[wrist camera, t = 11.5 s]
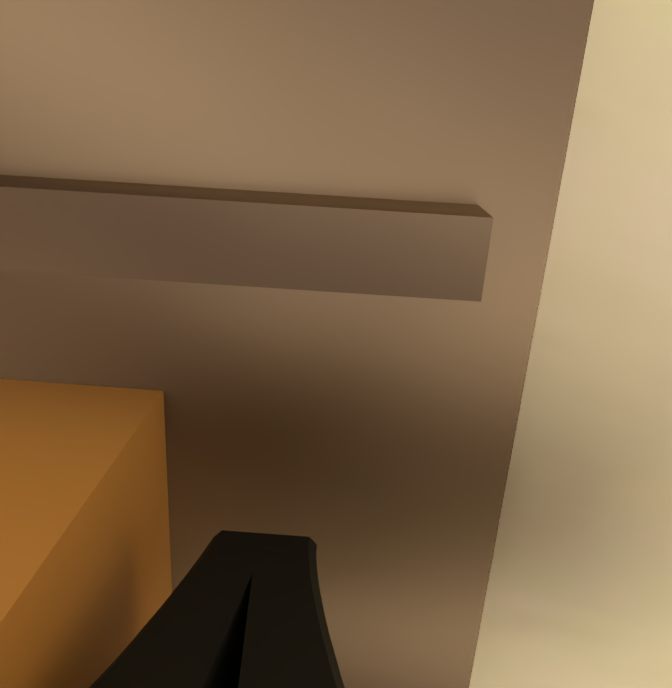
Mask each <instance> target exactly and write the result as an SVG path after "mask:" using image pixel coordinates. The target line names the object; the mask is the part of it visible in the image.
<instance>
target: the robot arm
mask: <svg viewBox="0 0 672 688" xmlns="http://www.w3.org/2000/svg"><path fill="white" fill-rule="evenodd" d="M316 551H317V544H316V543H315V542H314V541H313V540H312V539H311V538H310V537H307V536H293V535H280V534H266V533H252V532H239V531H225V530H222V531H221V532H219V533H218V534H217V535H215V536H214V537H213V539H212V540H211V541H210V543H209V544H208V546H207V547H206V549H205V550H204V551H203V553H202V554H201V556H200V557H199V558H198V560H197V561H196V562H195V564H194V565H193V566H192V568H191V569H190V570H189V572H188V573H187V574H186V576H185V577H184V578H183V580H182V581H181V582H180V583H179V585H178V586H177V587H176V588H175V590H174V591H173V592H172V593H171V595H170V596H169V597H168V599H167V600H166V601H165V602H164V603H163V605H162V606H161V607H160V608H159V609H158V611H157V612H156V613H155V614H154V615H153V617H152V618H151V619H150V620H149V621H148V622H147V624H146V625H145V626H144V627H143V628H142V629H141V631H140V632H139V633H138V634H137V635H136V637H135V638H134V639H133V640H132V641H131V642H130V644H129V645H128V646H127V647H126V648H125V649H124V651H123V652H122V653H121V654H120V655H119V656H118V657H117V658H116V660H115V661H114V662H113V663H112V664H111V665H110V666H109V667H108V668H107V669H106V670H105V671H104V672H103V673H102V674H101V676H100V677H99V678H98V679H97V680H96V681H95V682H94V683H93V684H92V685H91V686H90V687H89V688H345V687H344V684H343V681H342V677H341V674H340V670H339V667H338V663H337V660H336V656H335V652H334V649H333V645H332V642H331V638H330V635H329V631H328V626H327V622H326V618H325V614H324V609H323V603H322V598H321V593H320V587H319V581H318V573H317V560H316Z"/></svg>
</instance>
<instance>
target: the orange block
mask: <svg viewBox="0 0 672 688" xmlns="http://www.w3.org/2000/svg"><path fill="white" fill-rule="evenodd" d="M171 593H172V577H171V554H170V531H169V508H168V484H167V461H166V438H165V415H164V392H163V391H160V390H147V389H133V388H119V387H106V386H92V385H79V384H65V383H51V382H38V381H24V380H11V379H0V688H89V687H90V686H91V685H92V684H93V683H94V682H95V681H96V680H97V679H98V678H99V677H100V676H101V674H102V673H103V672H104V671H105V670H106V669H107V668H108V667H109V666H110V665H111V664H112V663H113V662H114V661H115V660H116V658H117V657H118V656H119V655H120V654H121V653H122V652H123V651H124V649H125V648H126V647H127V646H128V645H129V644H130V642H131V641H132V640H133V639H134V638H135V637H136V635H137V634H138V633H139V632H140V631H141V629H142V628H143V627H144V626H145V625H146V624H147V622H148V621H149V620H150V619H151V618H152V617H153V615H154V614H155V613H156V612H157V611H158V609H159V608H160V607H161V606H162V605H163V603H164V602H165V601H166V600H167V599H168V597H169V596H170V595H171Z"/></svg>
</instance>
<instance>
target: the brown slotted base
mask: <svg viewBox="0 0 672 688" xmlns="http://www.w3.org/2000/svg"><path fill="white" fill-rule="evenodd" d="M593 3H594V0H0V379H11V380H24V381H38V382H51V383H65V384H79V385H92V386H106V387H119V388H133V389H147V390H160V391H163V392H164V415H165V438H166V461H167V484H168V508H169V531H170V554H171V577H172V592H173V591H174V590H175V588H176V587H177V586H178V585H179V583H180V582H181V581H182V580H183V578H184V577H185V576H186V574H187V573H188V572H189V570H190V569H191V568H192V566H193V565H194V564H195V562H196V561H197V560H198V558H199V557H200V556H201V554H202V553H203V551H204V550H205V549H206V547H207V546H208V544H209V543H210V541H211V540H212V539H213V537H214V536H215V535H217V534H218V533H219V532H221V531H222V530H225V531H239V532H252V533H266V534H280V535H293V536H307V537H310V538H311V539H312V540H313V541H314V542H315V543H316V544H317V551H316V560H317V573H318V581H319V587H320V593H321V598H322V603H323V609H324V614H325V618H326V622H327V626H328V631H329V635H330V638H331V642H332V645H333V649H334V652H335V656H336V660H337V663H338V667H339V670H340V674H341V677H342V681H343V684H344V687H345V688H469V683H470V678H471V672H472V667H473V661H474V656H475V650H476V645H477V639H478V634H479V628H480V623H481V617H482V612H483V606H484V601H485V595H486V590H487V584H488V579H489V573H490V568H491V563H492V557H493V552H494V546H495V541H496V535H497V530H498V524H499V519H500V513H501V508H502V502H503V497H504V491H505V486H506V480H507V475H508V469H509V464H510V458H511V453H512V447H513V442H514V436H515V431H516V425H517V420H518V414H519V409H520V404H521V398H522V393H523V387H524V382H525V376H526V371H527V365H528V360H529V354H530V349H531V343H532V338H533V332H534V327H535V321H536V316H537V310H538V305H539V299H540V294H541V288H542V283H543V277H544V272H545V266H546V261H547V255H548V250H549V245H550V239H551V234H552V228H553V223H554V217H555V212H556V206H557V201H558V195H559V190H560V184H561V179H562V173H563V168H564V162H565V157H566V151H567V146H568V140H569V135H570V129H571V124H572V118H573V113H574V107H575V102H576V96H577V91H578V85H579V80H580V75H581V69H582V64H583V58H584V53H585V47H586V42H587V36H588V31H589V25H590V20H591V14H592V9H593Z"/></svg>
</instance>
